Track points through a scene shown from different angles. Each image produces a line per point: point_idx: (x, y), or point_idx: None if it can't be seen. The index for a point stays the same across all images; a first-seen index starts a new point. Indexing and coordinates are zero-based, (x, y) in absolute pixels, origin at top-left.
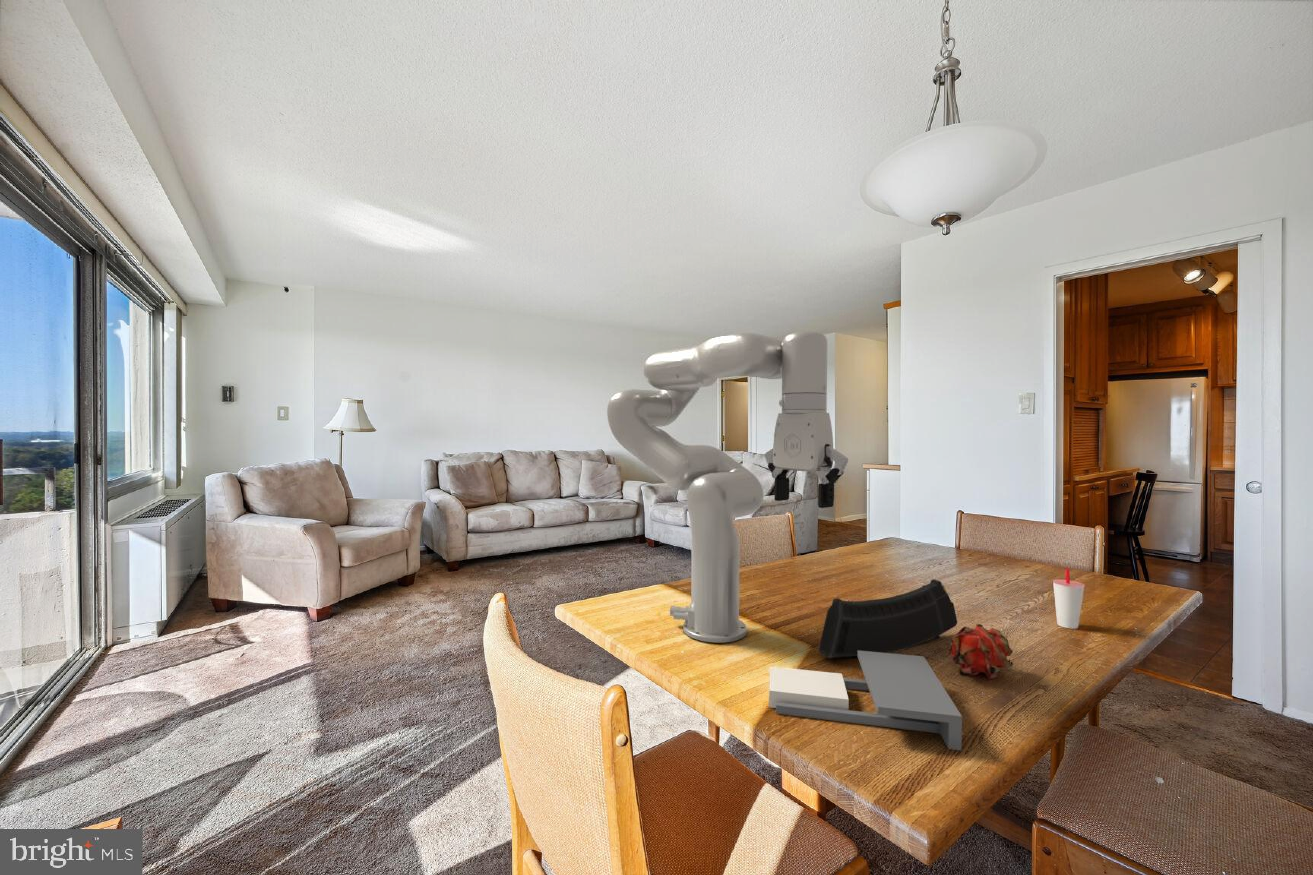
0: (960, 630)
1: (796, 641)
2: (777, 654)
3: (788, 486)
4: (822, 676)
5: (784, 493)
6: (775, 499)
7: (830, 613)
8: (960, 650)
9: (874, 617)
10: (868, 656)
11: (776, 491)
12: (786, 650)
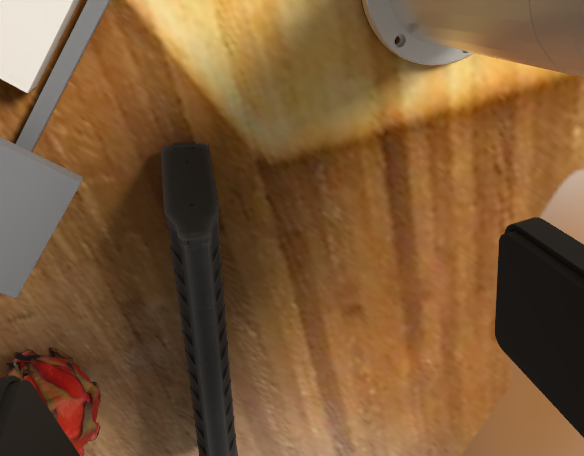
0: (83, 425)
1: (299, 143)
2: (253, 53)
3: (575, 419)
4: (20, 32)
5: (534, 332)
6: (526, 220)
7: (204, 206)
8: (29, 379)
9: (180, 305)
10: (38, 184)
11: (575, 263)
12: (265, 89)
